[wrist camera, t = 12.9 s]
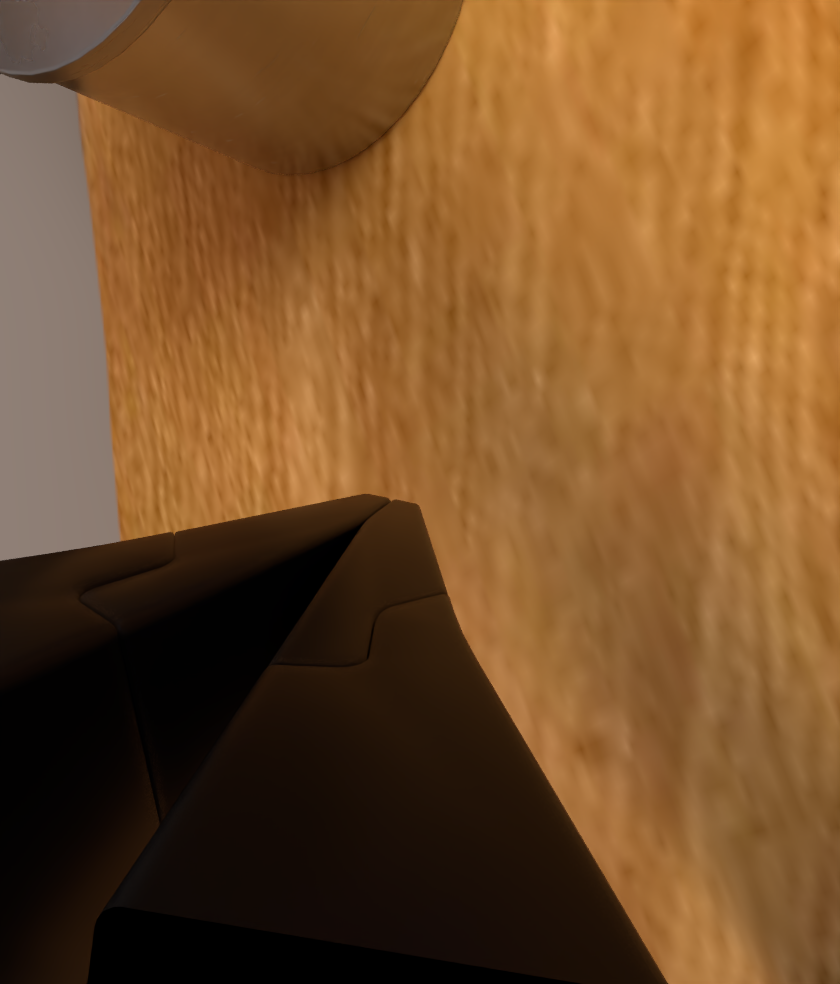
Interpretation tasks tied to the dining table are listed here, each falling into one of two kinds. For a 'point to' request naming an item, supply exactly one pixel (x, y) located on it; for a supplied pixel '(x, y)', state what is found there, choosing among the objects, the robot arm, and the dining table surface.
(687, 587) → the dining table surface
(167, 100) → the steel pot
